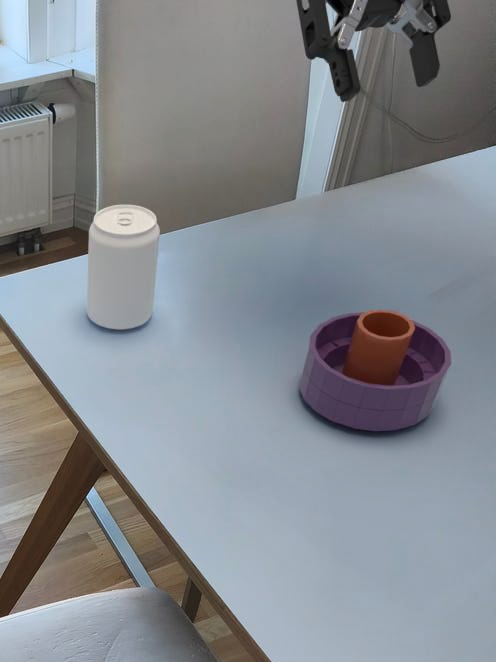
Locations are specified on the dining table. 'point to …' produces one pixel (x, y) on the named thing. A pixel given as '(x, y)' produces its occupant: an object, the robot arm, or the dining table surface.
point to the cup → (378, 347)
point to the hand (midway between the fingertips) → (390, 89)
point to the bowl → (364, 398)
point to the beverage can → (122, 266)
